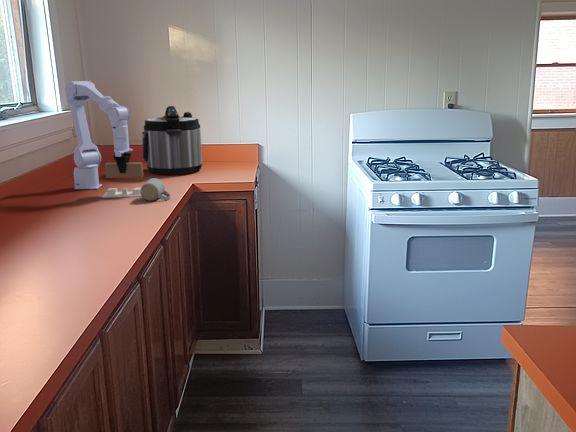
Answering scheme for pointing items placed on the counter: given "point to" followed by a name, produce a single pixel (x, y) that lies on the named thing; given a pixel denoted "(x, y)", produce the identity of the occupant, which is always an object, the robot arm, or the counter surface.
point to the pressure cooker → (172, 143)
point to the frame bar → (131, 170)
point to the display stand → (122, 193)
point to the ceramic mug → (154, 190)
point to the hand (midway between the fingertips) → (123, 172)
